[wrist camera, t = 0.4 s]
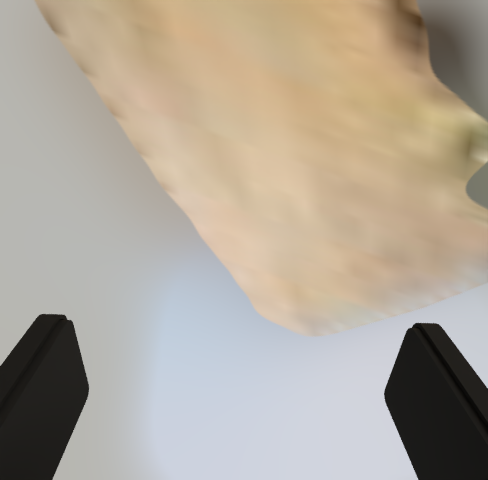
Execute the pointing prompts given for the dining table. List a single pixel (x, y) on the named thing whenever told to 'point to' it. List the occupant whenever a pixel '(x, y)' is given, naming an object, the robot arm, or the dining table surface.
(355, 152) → the dining table surface
